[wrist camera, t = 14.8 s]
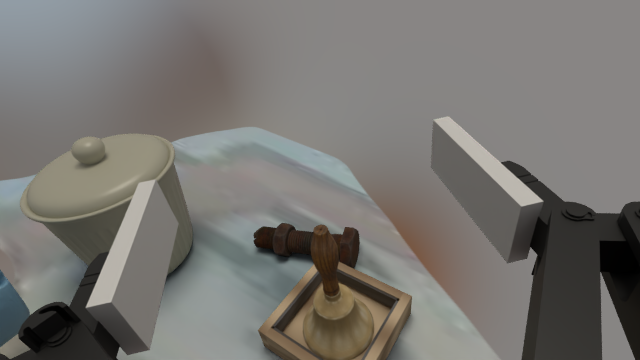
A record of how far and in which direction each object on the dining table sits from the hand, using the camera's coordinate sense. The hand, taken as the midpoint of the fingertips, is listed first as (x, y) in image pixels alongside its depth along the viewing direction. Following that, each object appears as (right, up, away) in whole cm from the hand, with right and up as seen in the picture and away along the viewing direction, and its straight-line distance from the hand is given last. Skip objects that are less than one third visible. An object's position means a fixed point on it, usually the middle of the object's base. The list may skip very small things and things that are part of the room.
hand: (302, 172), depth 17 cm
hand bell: (+3, -17, +25) cm, 30 cm away
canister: (-25, -12, +38) cm, 47 cm away
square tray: (+3, -18, +25) cm, 31 cm away
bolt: (-1, -11, +36) cm, 37 cm away
